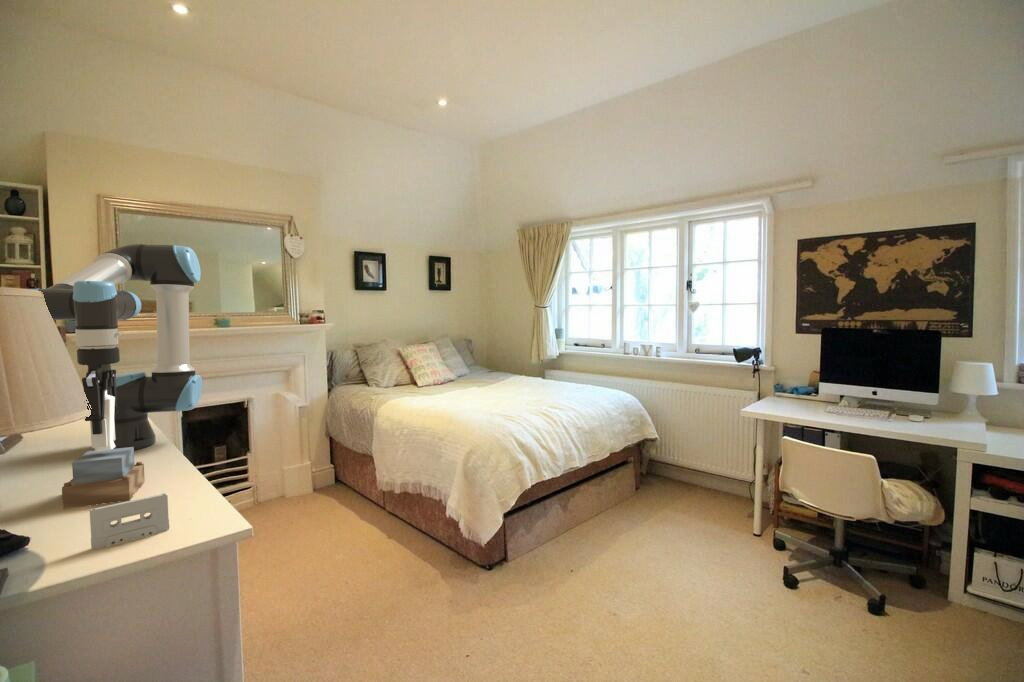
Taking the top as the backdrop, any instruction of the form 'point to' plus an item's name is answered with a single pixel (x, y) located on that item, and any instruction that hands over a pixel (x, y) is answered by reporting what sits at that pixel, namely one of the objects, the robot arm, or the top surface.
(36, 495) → the top surface
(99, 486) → the blue block on board
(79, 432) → the top surface
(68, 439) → the top surface
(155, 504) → the cassette
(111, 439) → the perfume bottle
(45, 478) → the top surface
